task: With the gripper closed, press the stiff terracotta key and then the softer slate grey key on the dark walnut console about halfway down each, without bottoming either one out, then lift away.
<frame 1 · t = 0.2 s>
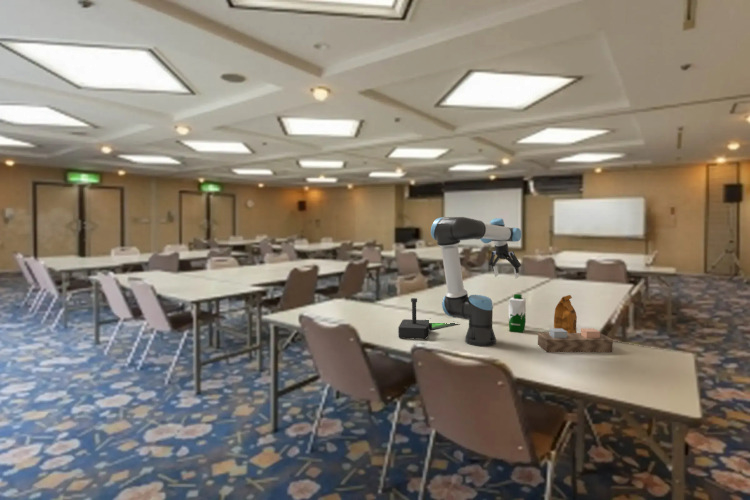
hand: (506, 276, 254), 28 cm above the table, tool tilted 20°, fingers open, 13 cm apart
terracotta key: (590, 335, 199), point 7 cm above the table, slide at 0.0 cm
black joystick: (415, 335, 229), on the table
milk carton: (516, 331, 235), on the table
coffee package: (565, 337, 220), on the table
slate key: (558, 335, 200), point 7 cm above the table, slide at 0.0 cm
key console: (573, 348, 200), on the table
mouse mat: (433, 324, 254), on the table
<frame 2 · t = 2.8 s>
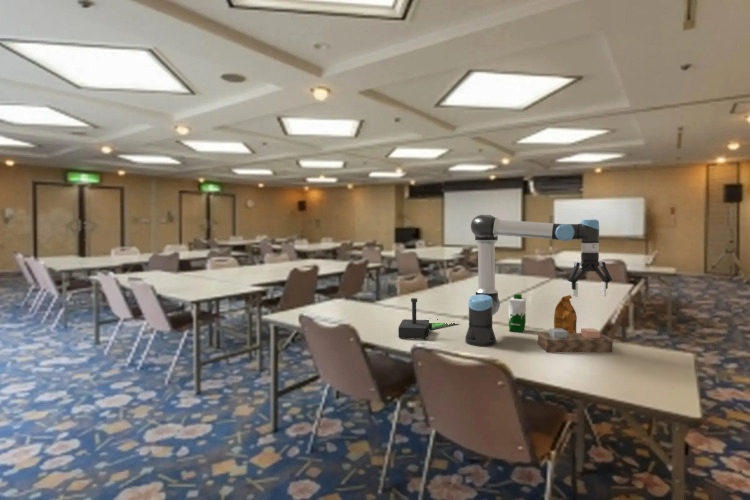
hand: (589, 296, 201), 25 cm above the table, tool pointing down, fingers open, 13 cm apart
nothing on the table moved.
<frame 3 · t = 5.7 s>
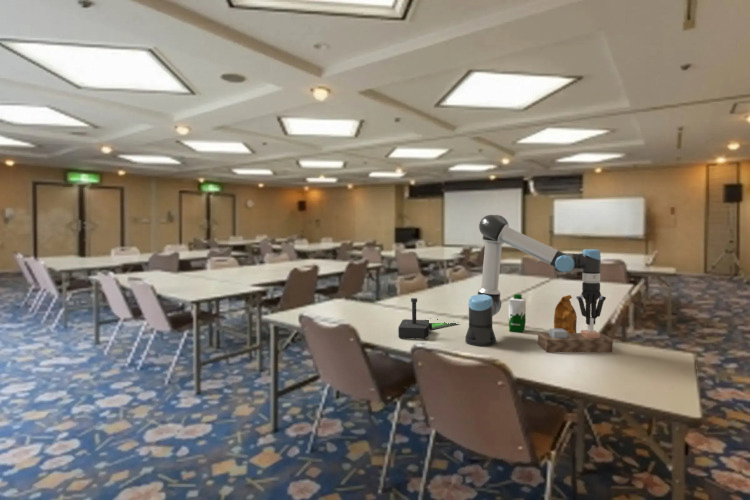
hand: (590, 331, 199), 8 cm above the table, tool pointing down, fingers closed
terracotta key: (590, 336, 200), point 6 cm above the table, slide at 0.8 cm, touching gripper
everything else where it was.
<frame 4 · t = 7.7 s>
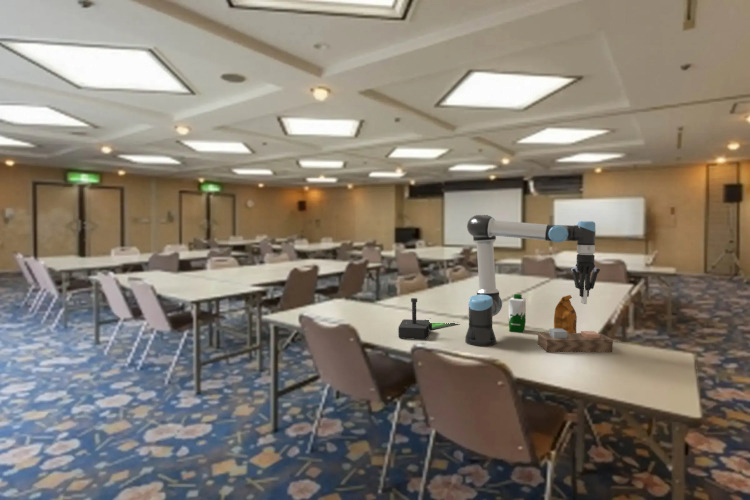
hand: (583, 303, 199), 22 cm above the table, tool pointing down, fingers closed
terracotta key: (590, 337, 200), point 5 cm above the table, slide at 1.3 cm
everything else where it was.
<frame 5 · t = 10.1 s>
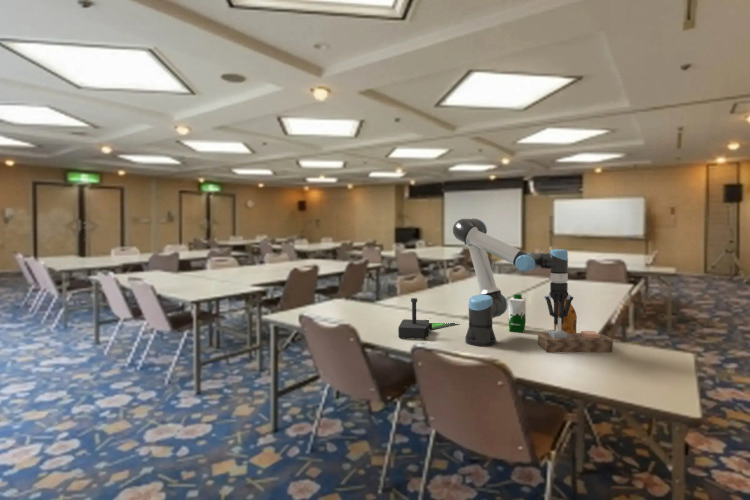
hand: (558, 331, 200), 9 cm above the table, tool pointing down, fingers closed
slate key: (558, 336, 200), point 6 cm above the table, slide at 0.7 cm, touching gripper
everything else where it was.
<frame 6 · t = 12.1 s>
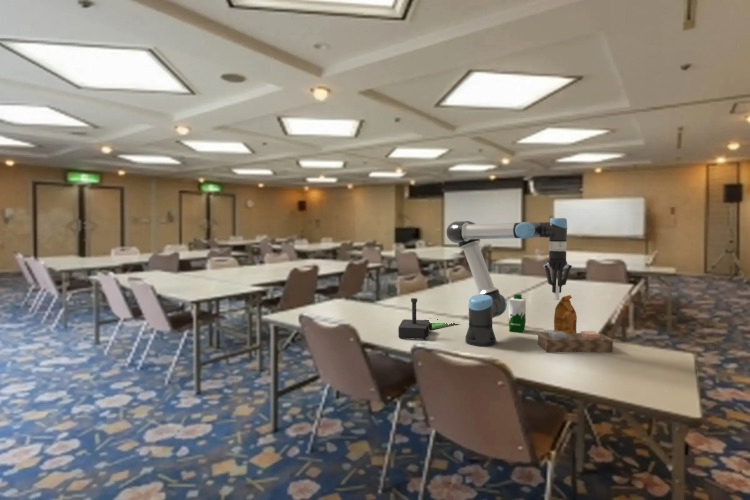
hand: (556, 299, 201), 23 cm above the table, tool pointing down, fingers closed
slate key: (558, 337, 200), point 5 cm above the table, slide at 1.3 cm
everything else where it was.
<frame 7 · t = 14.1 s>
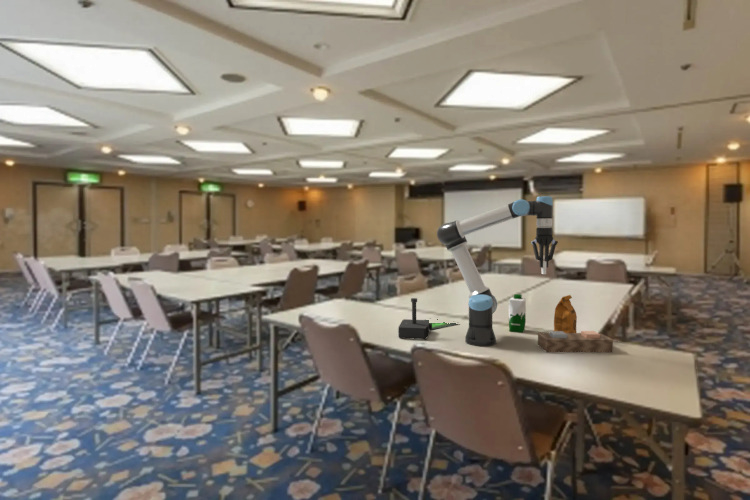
hand: (543, 273, 212), 34 cm above the table, tool pointing down, fingers closed
nothing on the table moved.
at the end: terracotta key slide at 1.3 cm; slate key slide at 1.3 cm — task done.
